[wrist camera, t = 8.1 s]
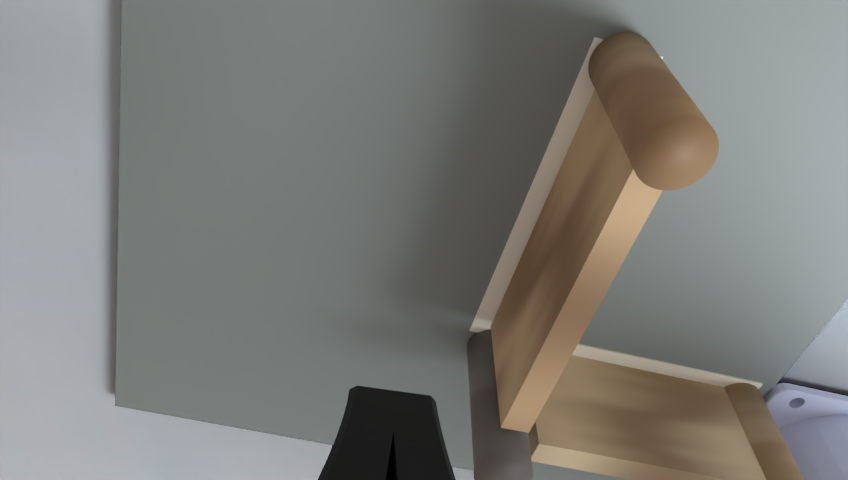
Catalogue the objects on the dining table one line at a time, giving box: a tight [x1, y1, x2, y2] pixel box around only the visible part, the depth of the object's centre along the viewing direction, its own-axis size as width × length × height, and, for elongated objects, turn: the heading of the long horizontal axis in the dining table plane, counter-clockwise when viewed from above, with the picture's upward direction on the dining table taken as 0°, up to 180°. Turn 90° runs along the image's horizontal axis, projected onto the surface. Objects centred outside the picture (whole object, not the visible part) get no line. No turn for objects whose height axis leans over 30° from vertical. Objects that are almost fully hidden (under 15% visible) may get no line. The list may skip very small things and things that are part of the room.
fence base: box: [467, 330, 805, 480], centre depth 21 cm, size 11×2×5 cm, turn 75°
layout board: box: [115, 0, 848, 480], centre depth 20 cm, size 22×21×1 cm
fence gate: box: [491, 32, 719, 433], centre depth 17 cm, size 10×2×5 cm, turn 165°
